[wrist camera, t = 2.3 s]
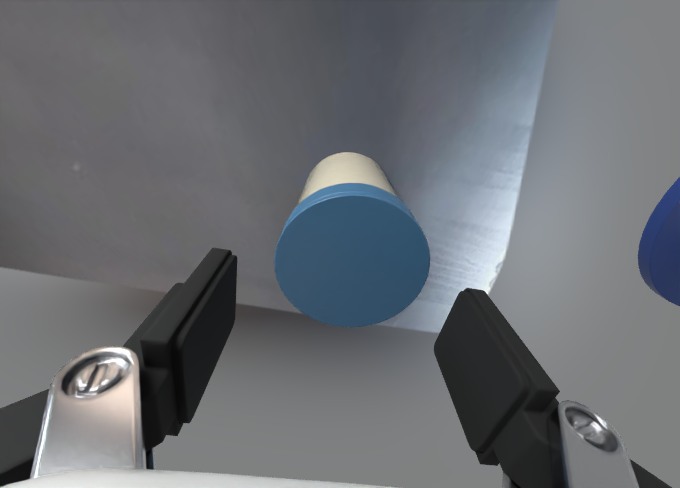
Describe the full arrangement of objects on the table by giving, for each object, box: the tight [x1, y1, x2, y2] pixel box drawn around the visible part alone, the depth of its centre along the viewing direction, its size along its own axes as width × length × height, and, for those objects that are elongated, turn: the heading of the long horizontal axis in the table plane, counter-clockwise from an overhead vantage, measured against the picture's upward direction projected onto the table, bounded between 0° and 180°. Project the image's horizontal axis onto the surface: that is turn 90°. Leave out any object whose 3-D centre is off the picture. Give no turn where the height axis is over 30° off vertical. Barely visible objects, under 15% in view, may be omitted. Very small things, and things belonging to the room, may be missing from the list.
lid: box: [274, 183, 430, 327], centre depth 13 cm, size 7×7×2 cm
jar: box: [298, 152, 399, 205], centre depth 17 cm, size 6×6×9 cm
